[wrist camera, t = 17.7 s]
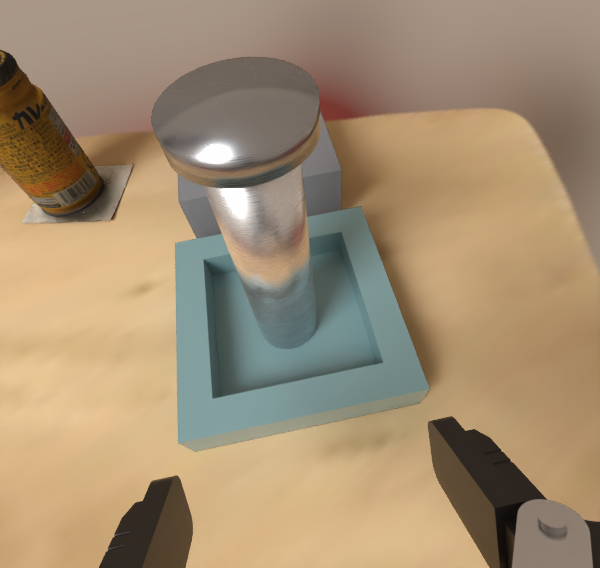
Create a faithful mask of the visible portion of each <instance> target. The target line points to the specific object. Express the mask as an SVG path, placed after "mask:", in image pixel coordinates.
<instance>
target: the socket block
mask: <svg viewBox="0 0 600 568" xmlns="http://www.w3.org/2000/svg"><path fill="white" fill-rule="evenodd" d="M320 124H321V132H320V138H319V140H318V143H317V145H316V147H315V149H314V150H313V152H312V153H311V154H310V156H309V157H308V158H307V159H306V160H305V161H304V162H303V163H302V171H303V181H304V191H305V201H306V212H307V217H309V216H314V215H319V214H324V213H329V212H334V211H339V210H341V189H342V169H341V166H340V164H339V161H338V158H337V155H336V153H335V150H334V147H333V144H332V142H331V139H330V136H329V133H328V131H327V128H326V125H325V122H324V120H323V118H322V114H321V111H320ZM178 197H179V203H180V205H181V208H182V210H183V212H184V214H185V216H186V218H187V220H188V222H189V224H190V226H191V228H192V230H193V232H194V234H195V236H196V238H197V239H198V238H203V237H208V236H213V235H218V234H222V233H221V230H220V228H219V225H218V223H217V220H216V218H215V215H214V213H213V210H212V207H211V205H210V202H209V200H208V197H207V195H206V192H205V190H204V187H203V185H199V184H196V183H194V182H191V181H189V180H187V179H185V178H184V177H182V176H181V175H179V174H178Z"/></svg>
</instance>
